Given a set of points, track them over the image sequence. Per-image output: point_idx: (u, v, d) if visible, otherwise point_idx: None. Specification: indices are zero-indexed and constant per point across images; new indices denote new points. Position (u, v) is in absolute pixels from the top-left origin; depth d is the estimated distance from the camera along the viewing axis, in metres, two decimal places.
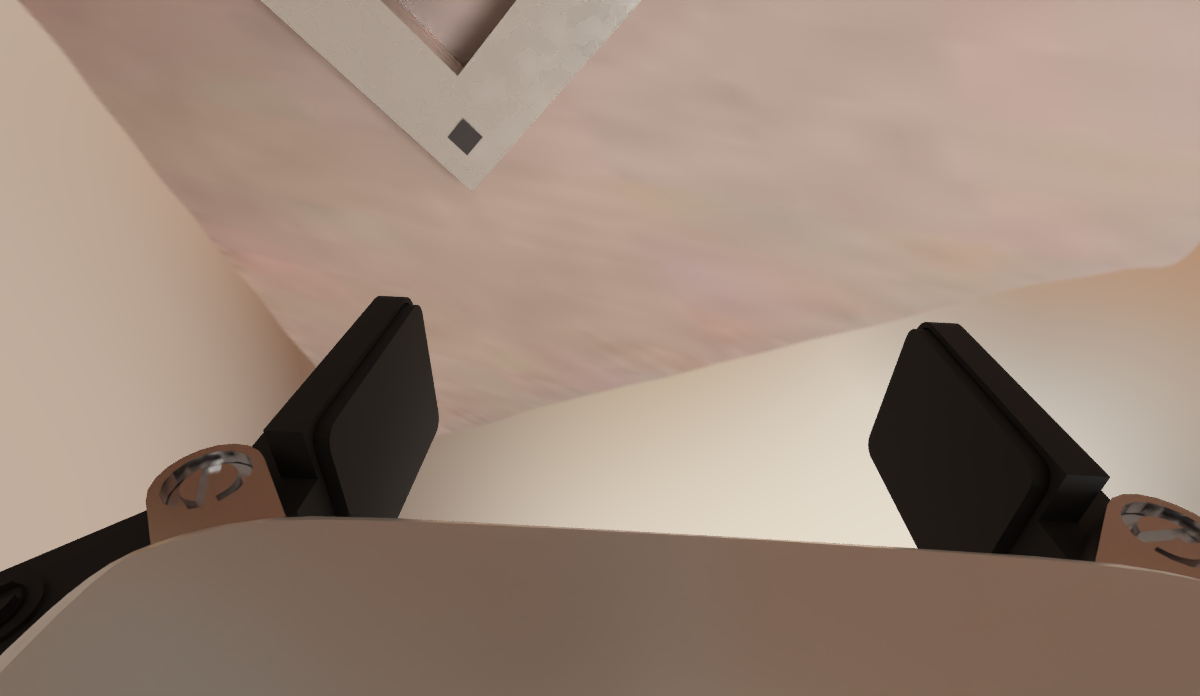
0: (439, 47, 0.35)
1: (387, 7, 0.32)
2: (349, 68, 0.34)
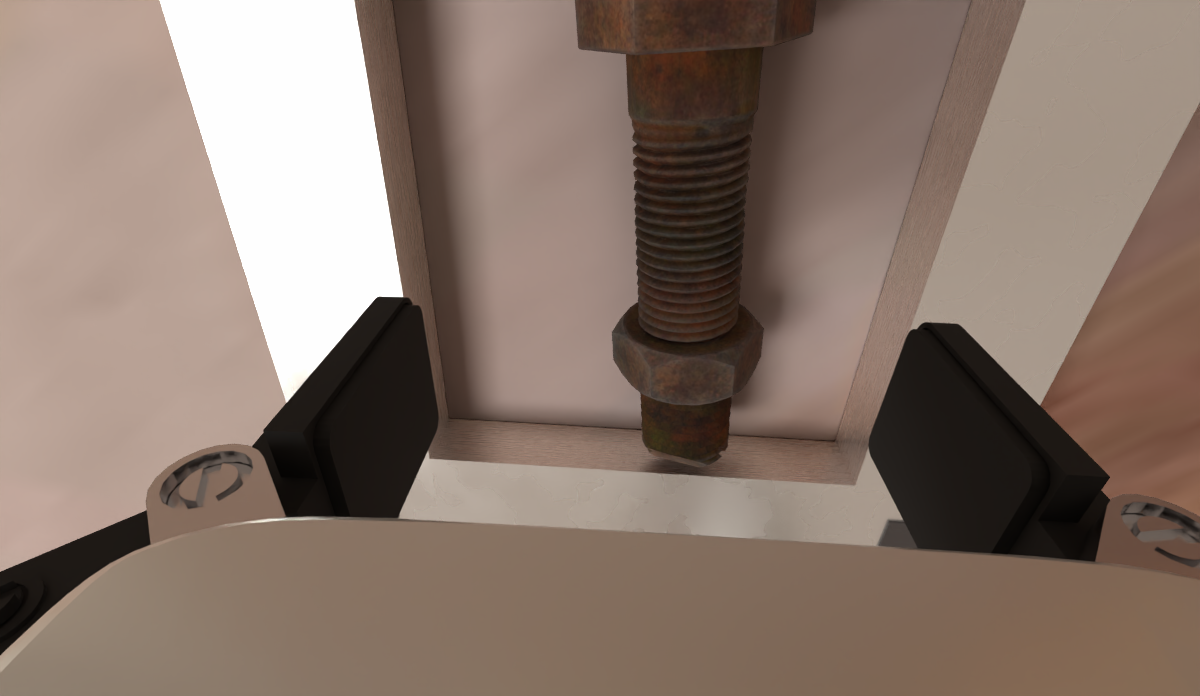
0: None
1: None
2: None
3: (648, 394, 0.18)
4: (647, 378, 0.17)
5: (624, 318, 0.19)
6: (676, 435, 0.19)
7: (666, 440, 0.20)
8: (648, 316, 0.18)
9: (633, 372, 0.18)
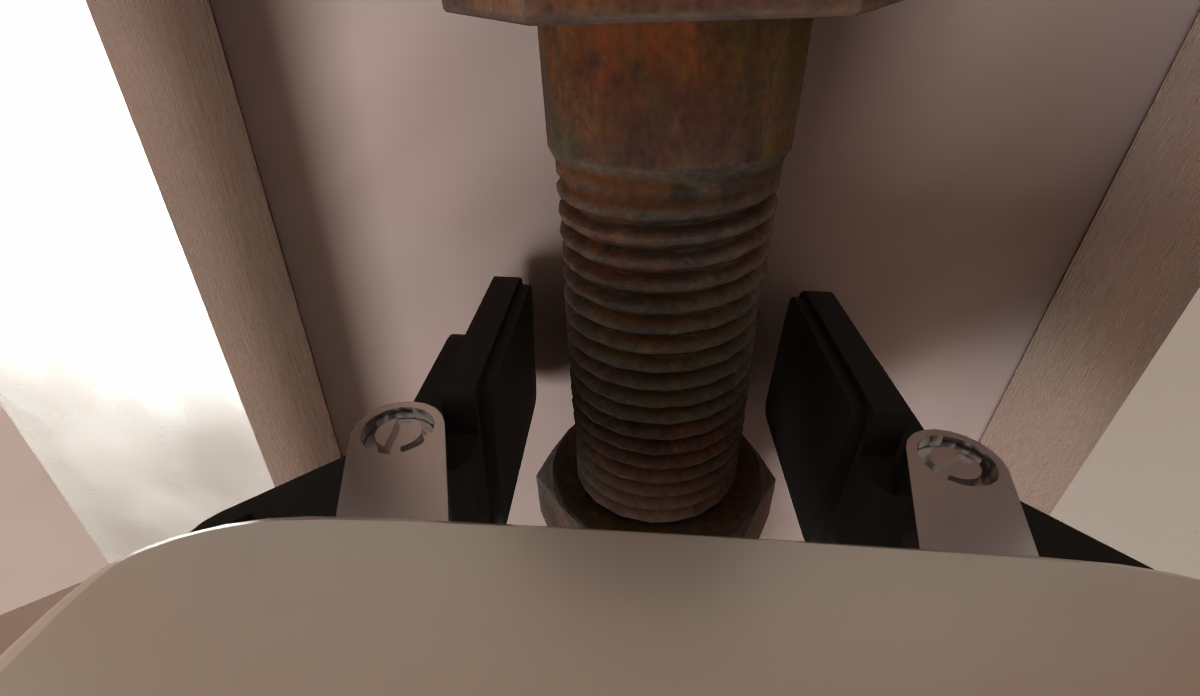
0: None
1: None
2: None
3: None
4: None
5: (556, 454, 0.12)
6: None
7: None
8: None
9: None
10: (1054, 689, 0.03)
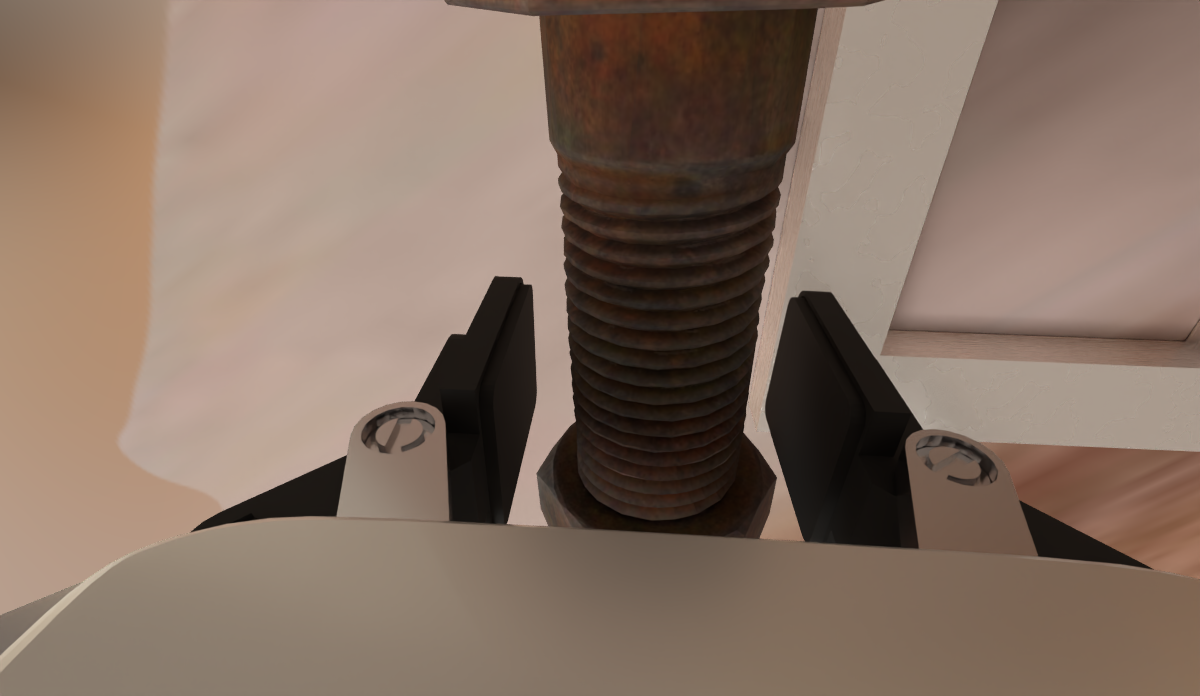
0: None
1: None
2: None
3: None
4: None
5: (556, 452, 0.12)
6: None
7: None
8: None
9: None
10: (1054, 689, 0.03)
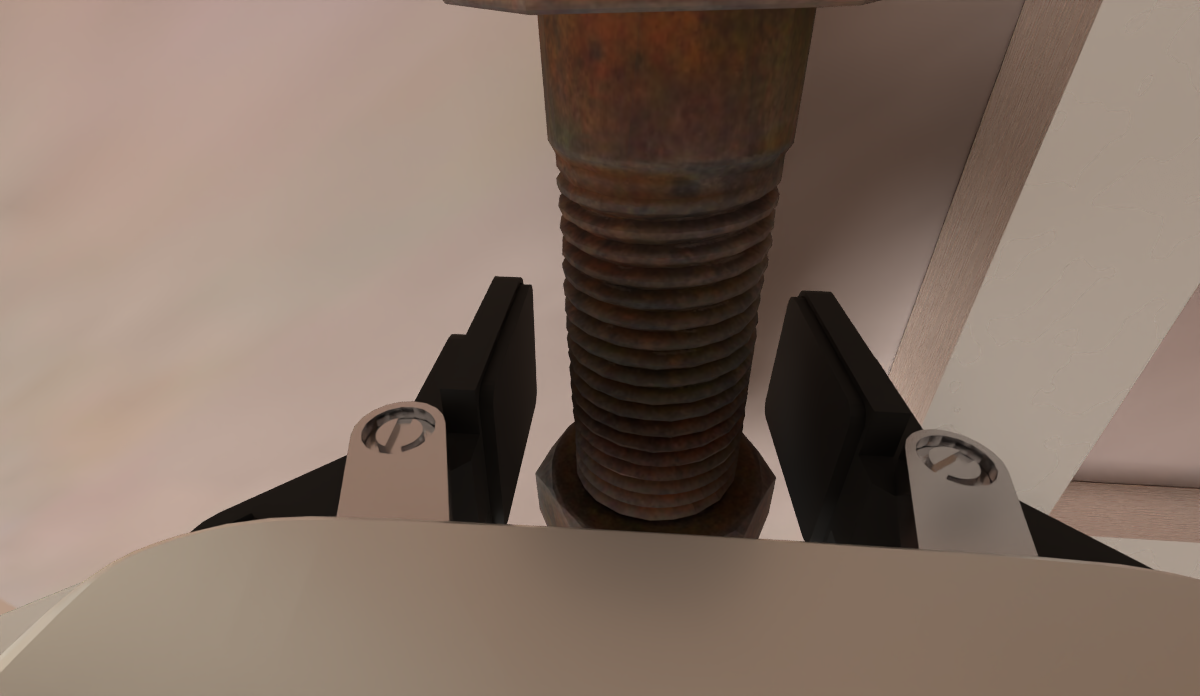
0: None
1: None
2: None
3: None
4: None
5: (555, 452, 0.12)
6: None
7: None
8: None
9: None
10: (1055, 689, 0.03)
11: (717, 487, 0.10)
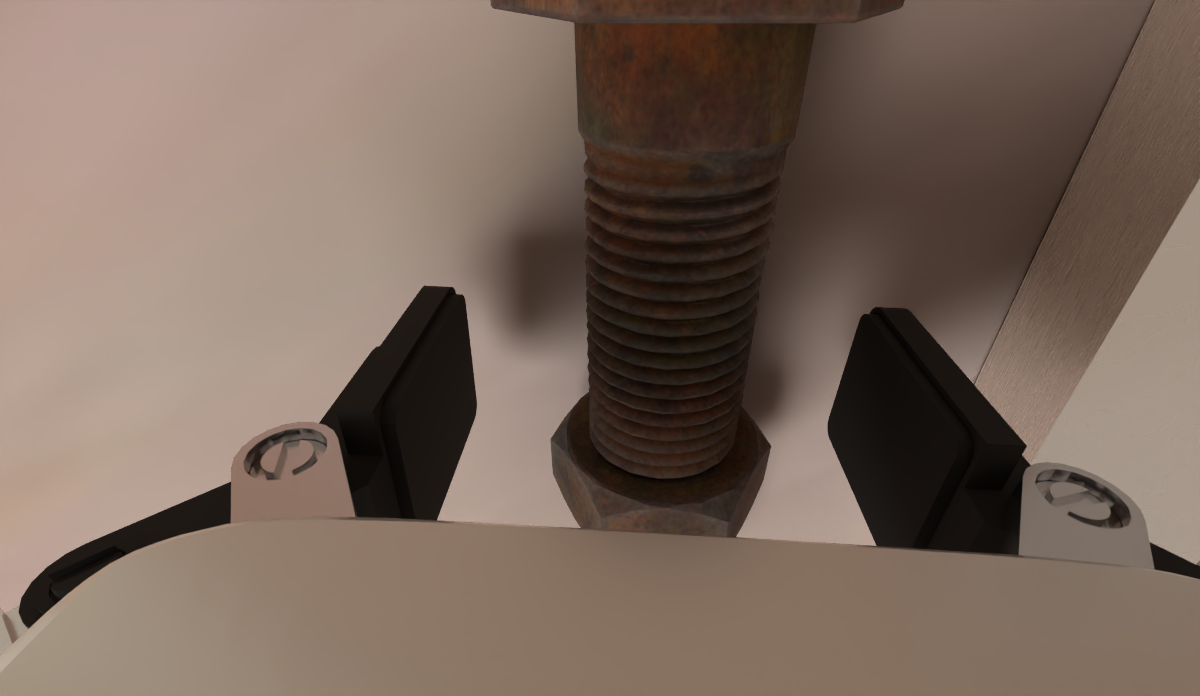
0: None
1: None
2: None
3: None
4: (596, 526, 0.11)
5: (569, 420, 0.13)
6: None
7: None
8: None
9: (577, 506, 0.12)
10: (1055, 689, 0.03)
11: (718, 449, 0.11)
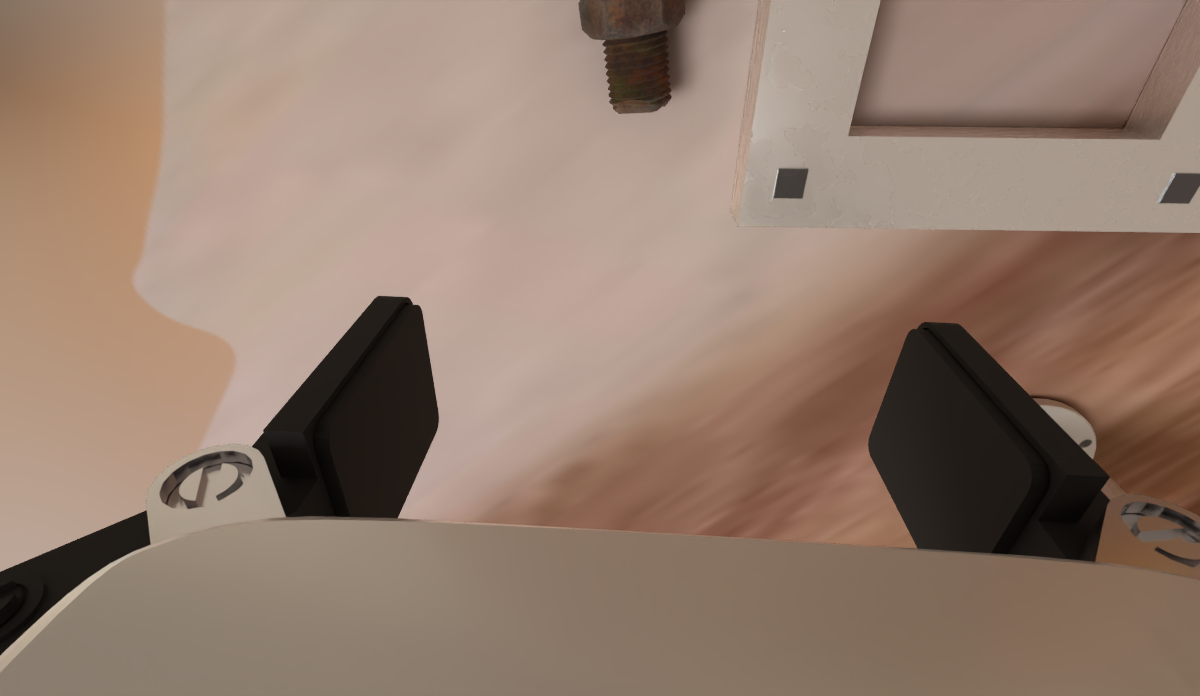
0: None
1: None
2: None
3: (605, 30, 0.26)
4: (603, 16, 0.25)
5: None
6: (630, 79, 0.27)
7: (624, 86, 0.28)
8: None
9: (595, 23, 0.26)
10: (1054, 689, 0.03)
11: None
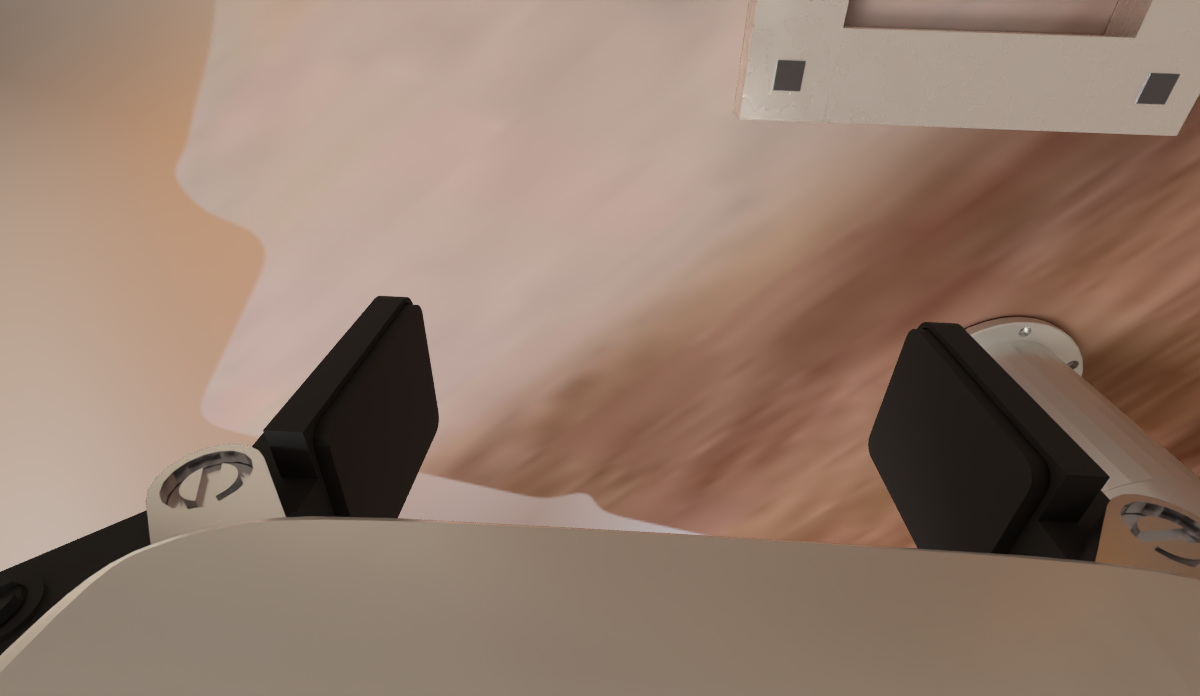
0: None
1: None
2: None
3: None
4: None
5: None
6: None
7: None
8: None
9: None
10: (1055, 689, 0.03)
11: None
